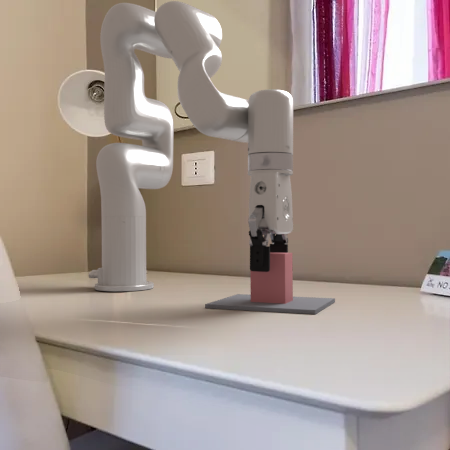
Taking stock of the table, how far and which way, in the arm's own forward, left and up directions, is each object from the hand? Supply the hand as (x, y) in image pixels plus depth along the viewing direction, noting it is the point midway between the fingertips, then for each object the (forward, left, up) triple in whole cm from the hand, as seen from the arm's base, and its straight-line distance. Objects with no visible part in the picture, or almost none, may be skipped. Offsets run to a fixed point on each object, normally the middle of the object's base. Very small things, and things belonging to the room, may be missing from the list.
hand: (269, 268), depth 88 cm
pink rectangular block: (0, 0, -5) cm, 5 cm away
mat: (0, 0, -6) cm, 6 cm away
